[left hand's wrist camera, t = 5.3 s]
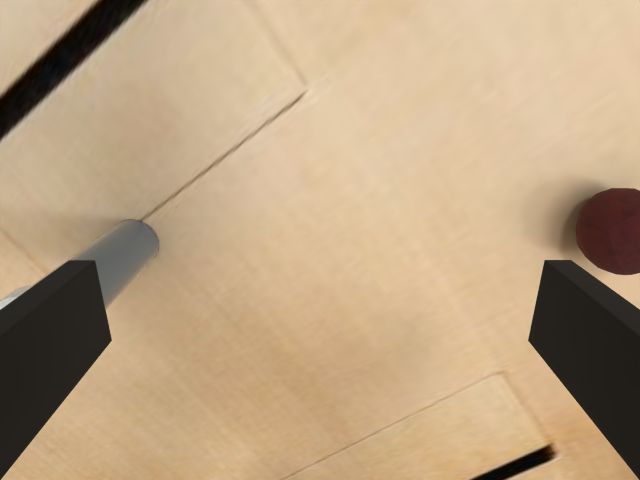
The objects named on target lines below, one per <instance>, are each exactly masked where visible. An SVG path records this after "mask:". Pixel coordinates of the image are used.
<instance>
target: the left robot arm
mask: <svg viewBox="0 0 640 480" xmlns="http://www.w3.org/2000/svg"><path fill="white" fill-rule="evenodd" d="M111 341H112V339H111V334H110V330H109V325H108V320H107V315H106V310H105V305H104V300H103V295H102V291H101V286H100V281H99V276H98V271H97V266H96V261H95V260H69V261H67V262H66V263H64V264H63V265H62V266H60V267H59V268H57V269H56V270H55V271H53V272H52V273H50V274H49V275H48V276H46V277H45V278H44V279H42V280H41V281H39V282H38V283H37V284H35V285H34V286H32V287H31V288H30V289H28V290H27V291H25V292H24V293H23V294H21V295H20V296H19V297H17V298H16V299H14V300H13V301H12V302H10V303H9V304H7V305H6V306H5V307H3V308H2V309H0V480H1V479H2V477H3V476H4V475H5V474H6V472H7V471H8V470H9V469H10V467H11V466H12V465H13V464H14V462H15V461H16V460H17V459H18V457H19V456H20V455H21V454H22V452H23V451H24V450H25V449H26V447H27V446H28V445H29V444H30V442H31V441H32V440H33V439H34V437H35V436H36V435H37V434H38V432H39V431H40V430H41V429H42V427H43V426H44V425H45V423H46V422H47V421H48V420H49V418H50V417H51V416H52V415H53V413H54V412H55V411H56V410H57V408H58V407H59V406H60V405H61V403H62V402H63V401H64V400H65V398H66V397H67V396H68V395H69V393H70V392H71V391H72V390H73V388H74V387H75V386H76V385H77V383H78V382H79V381H80V380H81V378H82V377H83V376H84V375H85V373H86V372H87V371H88V370H89V368H90V367H91V366H92V365H93V363H94V362H95V361H96V360H97V358H98V357H99V356H100V355H101V353H102V352H103V351H104V350H105V348H106V347H107V346H108V345H109V343H110V342H111ZM528 341H529V342H530V343H531V345H532V346H533V347H534V348H535V350H536V351H537V352H538V353H539V355H540V356H541V357H542V358H543V360H544V361H545V362H546V363H547V365H548V366H549V367H550V368H551V370H552V371H553V372H554V373H555V375H556V376H557V377H558V378H559V380H560V381H561V382H562V383H563V385H564V386H565V387H566V388H567V390H568V391H569V392H570V393H571V395H572V396H573V397H574V398H575V400H576V401H577V402H578V403H579V405H580V406H581V407H582V408H583V410H584V411H585V412H586V413H587V415H588V416H589V417H590V418H591V420H592V421H593V422H594V424H595V425H596V426H597V427H598V429H599V430H600V431H601V432H602V434H603V435H604V436H605V437H606V439H607V440H608V441H609V442H610V444H611V445H612V446H613V447H614V449H615V450H616V451H617V452H618V454H619V455H620V456H621V457H622V459H623V460H624V461H625V462H626V464H627V465H628V466H629V467H630V469H631V470H632V471H633V472H634V474H635V475H636V476H637V477H638V479H639V480H640V309H638V308H637V307H635V306H634V305H633V304H631V303H630V302H628V301H627V300H626V299H624V298H623V297H621V296H620V295H619V294H617V293H616V292H615V291H613V290H612V289H610V288H609V287H608V286H606V285H605V284H603V283H602V282H601V281H599V280H598V279H596V278H595V277H594V276H592V275H591V274H589V273H588V272H587V271H585V270H584V269H583V268H581V267H580V266H578V265H577V264H576V263H574V262H573V261H571V260H545V261H544V266H543V271H542V276H541V281H540V286H539V291H538V295H537V300H536V305H535V310H534V315H533V320H532V325H531V330H530V334H529V339H528Z"/></svg>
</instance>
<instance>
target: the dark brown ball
mask: <svg viewBox="0 0 640 480" xmlns="http://www.w3.org/2000/svg"><path fill="white" fill-rule="evenodd" d="M576 237H577V244H578V246H579V248H580V249H581V251H582V252H583V254H584V255H585V257H586V258H587V259H589V260H590V261H591V262H592V263H593V264H594V265H596V266H597V267H598V268H600V269H603V270H606V271H608V272H611V273H614V274H619V275H632V274H637V273H640V191H639V190H636V189H630V188H611V189H609V190H606V191H603V192H600V193H598V194H596V195H595V196H593V197H592V198H591V199H590V200H588V201H587V202H586V204H585V205H584V207H583V208H582V210H581V212H580V215H579V219H578V222H577V226H576Z"/></svg>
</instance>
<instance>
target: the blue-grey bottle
mask: <svg viewBox="0 0 640 480" xmlns="http://www.w3.org/2000/svg"><path fill="white" fill-rule="evenodd" d="M158 250H159V241H158V237H157V235H156V233H155V232H154V231H153V229H152V228H151V227H149V226H148V225H147V224H145V223H143V222H141V221H137V220H125V221H122V222H120V223H118V224H117V225H116V226H114V227H113V228H111V229H110V230H109V231H107V232H106V233H104V234H103V235H102V236H100V237H99V238H97V239H96V240H95V241H93V242H92V243H90V244H89V245H88V246H86V247H85V248H83V249H82V250H81V251H79V252H78V253H76V254H75V255H74V256H72V257H71V258H69V259H68V260H67V261H69V260H95V261H96V266H97V271H98V276H99V281H100V286H101V291H102V295H103V300H104V305H105V310H106V309H107V308H108V307H109V306H110V305H111V304H112V303H113V302H114V301H115V300H116V299H117V298H118V296H119V295H120V294H121V293H122V292H123V291H124V290H125V289H126V288H127V287H128V286H129V285H130V284H131V282H132V281H133V280H134V279H135V278H136V277H137V276H138V275H139V274H140V273H141V272H142V271H143V270H144V268H145V267H146V266H147V265H148V264H149V263H150V262H151V261H152V260H153V259H154V258H155V256H156V255H157V253H158ZM67 261H65V262H64V263H66V262H67ZM64 263H62V264H61V265H60V266H62V265H63V264H64ZM60 266H58V267H57V268H59V267H60ZM57 268H55V269H54V270H53V271H55V270H56V269H57ZM53 271H51V272H50V273H52V272H53ZM50 273H48V274H47V275H46V276H48V275H49V274H50ZM46 276H44V277H43V278H41V279H40V280H39V281H41V280H42V279H44V278H45V277H46ZM39 281H37V282H36V283H34V284H33V285H35V284H37V283H38V282H39Z"/></svg>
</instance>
